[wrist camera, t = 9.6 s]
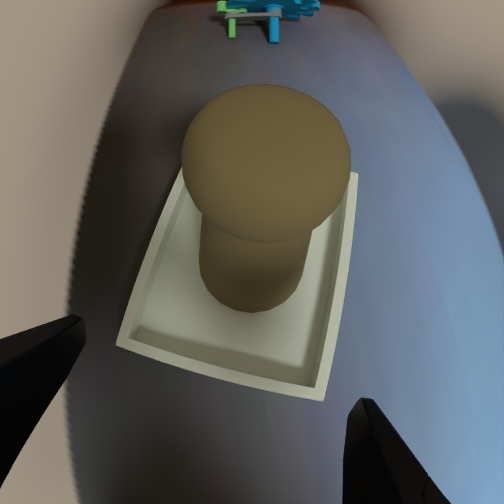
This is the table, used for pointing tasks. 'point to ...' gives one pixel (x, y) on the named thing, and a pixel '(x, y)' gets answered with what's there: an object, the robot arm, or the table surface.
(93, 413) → the table surface
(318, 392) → the tray
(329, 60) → the table surface
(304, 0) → the gear
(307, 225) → the cork
